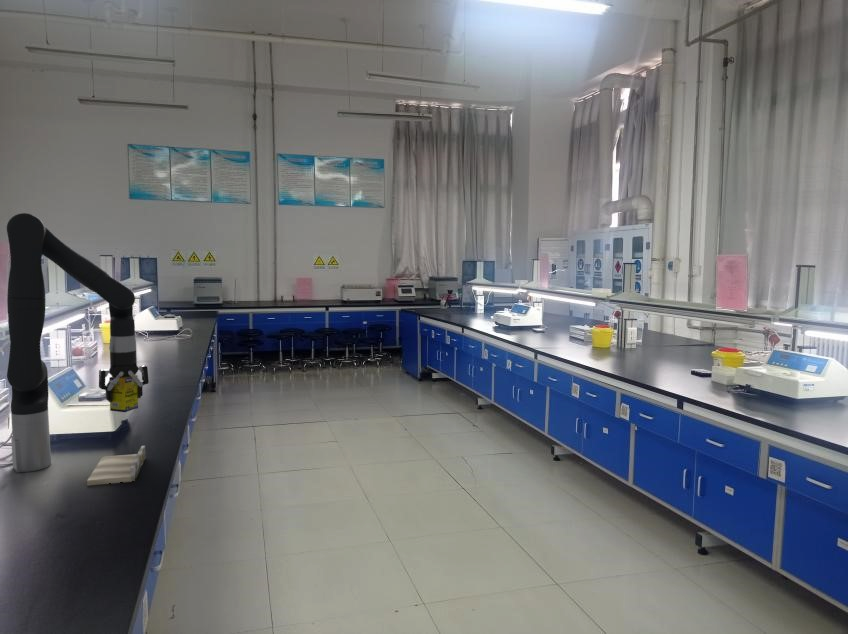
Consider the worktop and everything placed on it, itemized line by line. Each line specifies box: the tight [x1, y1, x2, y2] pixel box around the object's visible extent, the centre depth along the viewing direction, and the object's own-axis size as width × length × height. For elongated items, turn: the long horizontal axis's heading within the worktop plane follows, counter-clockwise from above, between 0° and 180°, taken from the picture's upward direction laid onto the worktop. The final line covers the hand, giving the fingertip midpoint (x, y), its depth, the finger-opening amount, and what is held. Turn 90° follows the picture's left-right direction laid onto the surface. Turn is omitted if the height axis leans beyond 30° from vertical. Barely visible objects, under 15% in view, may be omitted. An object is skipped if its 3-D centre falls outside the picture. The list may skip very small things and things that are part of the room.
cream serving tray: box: [86, 445, 146, 486], centre depth 177 cm, size 20×12×4 cm, turn 17°
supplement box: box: [108, 374, 139, 413], centre depth 191 cm, size 6×6×11 cm
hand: (124, 399), depth 191 cm, fingers closed on supplement box, 8 cm apart
